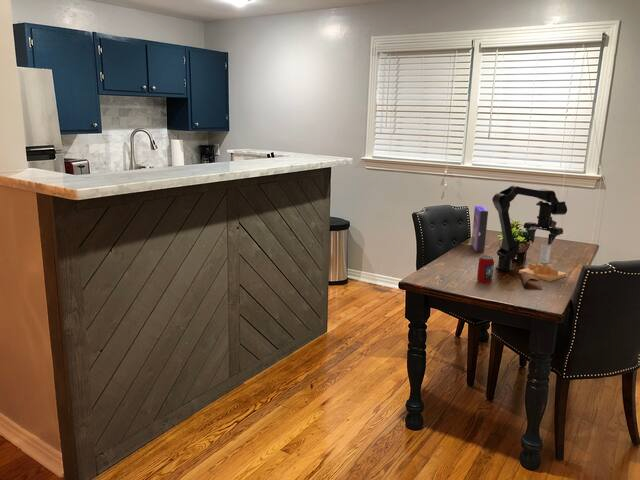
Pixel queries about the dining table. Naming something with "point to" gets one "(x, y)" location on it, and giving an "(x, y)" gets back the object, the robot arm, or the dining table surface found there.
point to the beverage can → (485, 269)
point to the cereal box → (479, 228)
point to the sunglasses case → (530, 281)
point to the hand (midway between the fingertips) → (540, 244)
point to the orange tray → (543, 271)
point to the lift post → (545, 253)
